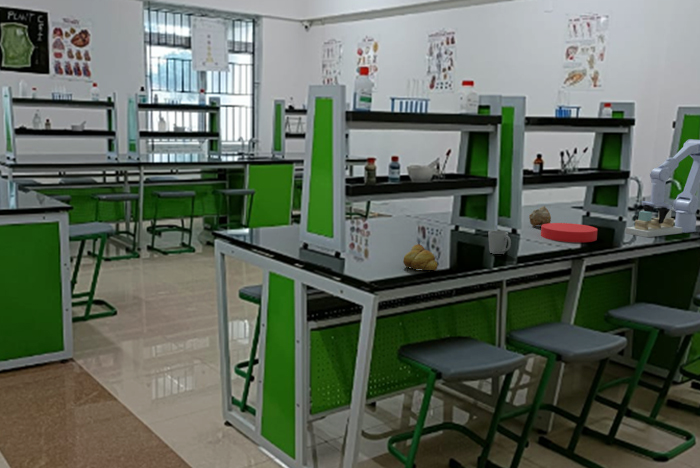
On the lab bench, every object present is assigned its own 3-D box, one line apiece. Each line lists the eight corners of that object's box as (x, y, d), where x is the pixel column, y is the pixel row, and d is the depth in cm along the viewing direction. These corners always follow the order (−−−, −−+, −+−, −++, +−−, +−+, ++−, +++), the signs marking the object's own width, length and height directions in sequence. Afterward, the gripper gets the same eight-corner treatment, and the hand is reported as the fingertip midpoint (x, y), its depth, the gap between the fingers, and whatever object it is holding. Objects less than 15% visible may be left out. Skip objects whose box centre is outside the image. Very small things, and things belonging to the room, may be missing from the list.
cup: (496, 250, 266) (497, 229, 264) (515, 255, 258) (517, 233, 256) (483, 252, 261) (484, 231, 260) (502, 257, 253) (504, 235, 252)
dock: (659, 228, 326) (659, 223, 326) (682, 232, 316) (682, 227, 316) (624, 232, 313) (625, 227, 312) (647, 237, 303) (648, 231, 302)
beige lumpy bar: (663, 225, 322) (664, 217, 321) (673, 226, 317) (674, 218, 317) (634, 228, 311) (635, 220, 310) (644, 230, 306) (644, 221, 306)
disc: (609, 230, 294) (569, 233, 282) (608, 240, 294) (569, 244, 283) (568, 221, 314) (530, 224, 303) (567, 231, 315) (529, 235, 304)
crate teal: (643, 219, 312) (644, 211, 312) (651, 220, 309) (652, 212, 308) (638, 220, 310) (639, 211, 310) (645, 221, 307) (646, 212, 306)
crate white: (663, 217, 320) (663, 209, 319) (670, 218, 317) (671, 210, 316) (657, 217, 318) (658, 209, 317) (665, 219, 315) (666, 210, 314)
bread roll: (443, 271, 230) (444, 248, 228) (422, 274, 224) (423, 251, 222) (418, 264, 240) (419, 242, 238) (397, 267, 234) (398, 245, 233)
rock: (551, 228, 320) (552, 208, 318) (529, 227, 322) (530, 207, 320) (549, 224, 332) (550, 205, 330) (527, 223, 334) (529, 204, 332)
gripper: (638, 192, 315) (635, 220, 318) (666, 195, 303) (663, 225, 305) (648, 191, 319) (645, 219, 321) (676, 195, 307) (672, 224, 309)
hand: (654, 222), depth 314 cm, fingers open, 6 cm apart
